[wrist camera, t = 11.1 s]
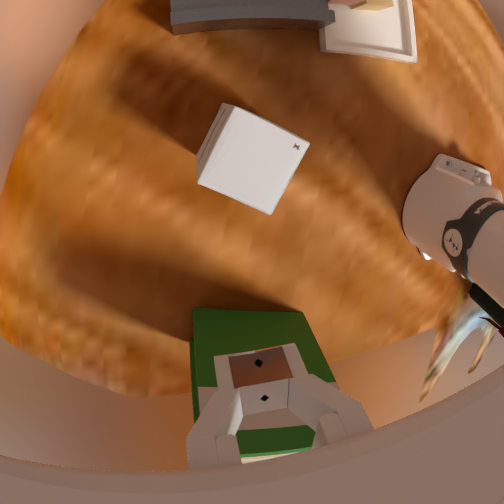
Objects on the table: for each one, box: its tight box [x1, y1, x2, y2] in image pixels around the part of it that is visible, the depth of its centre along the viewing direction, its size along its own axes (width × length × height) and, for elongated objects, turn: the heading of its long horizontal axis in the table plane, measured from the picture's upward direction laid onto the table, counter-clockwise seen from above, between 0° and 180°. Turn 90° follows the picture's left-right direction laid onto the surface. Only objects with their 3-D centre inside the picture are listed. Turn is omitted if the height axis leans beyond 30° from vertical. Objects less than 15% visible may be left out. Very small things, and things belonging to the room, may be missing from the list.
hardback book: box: [189, 307, 340, 464], centre depth 39 cm, size 18×7×24 cm, turn 78°
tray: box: [319, 0, 417, 63], centre depth 28 cm, size 14×16×2 cm
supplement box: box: [196, 103, 310, 215], centre depth 30 cm, size 7×7×13 cm
